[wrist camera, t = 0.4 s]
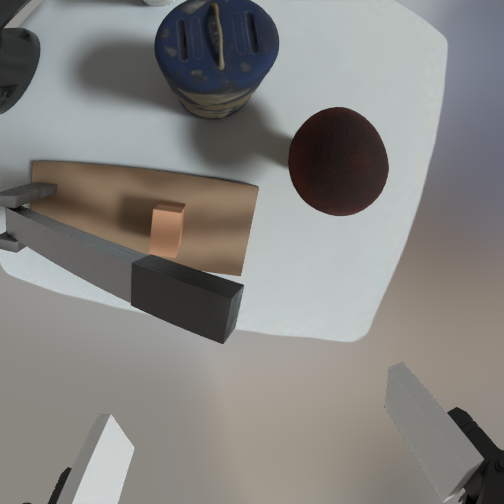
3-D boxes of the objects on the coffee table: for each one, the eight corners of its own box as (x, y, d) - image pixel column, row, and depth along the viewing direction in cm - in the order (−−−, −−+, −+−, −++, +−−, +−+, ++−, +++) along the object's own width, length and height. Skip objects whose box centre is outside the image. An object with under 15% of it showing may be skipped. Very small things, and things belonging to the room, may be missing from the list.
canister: (171, 118, 32) (134, 86, 15) (182, 52, 29) (162, -20, 12) (246, 124, 33) (278, 98, 16) (255, 59, 30) (292, -8, 13)
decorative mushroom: (252, 175, 36) (279, 190, 22) (290, 104, 33) (339, 78, 19) (321, 212, 38) (378, 246, 25) (356, 145, 36) (425, 148, 22)
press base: (39, 160, 30) (-12, 168, 19) (256, 185, 36) (277, 200, 25) (37, 239, 34) (-8, 269, 22) (239, 270, 40) (250, 316, 29)
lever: (17, 201, 24) (2, 203, 22) (244, 282, 17) (232, 295, 15) (17, 230, 25) (3, 234, 23) (234, 329, 18) (222, 346, 16)
